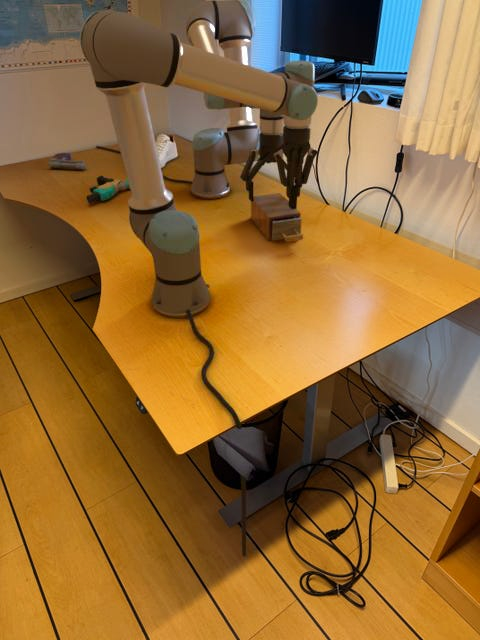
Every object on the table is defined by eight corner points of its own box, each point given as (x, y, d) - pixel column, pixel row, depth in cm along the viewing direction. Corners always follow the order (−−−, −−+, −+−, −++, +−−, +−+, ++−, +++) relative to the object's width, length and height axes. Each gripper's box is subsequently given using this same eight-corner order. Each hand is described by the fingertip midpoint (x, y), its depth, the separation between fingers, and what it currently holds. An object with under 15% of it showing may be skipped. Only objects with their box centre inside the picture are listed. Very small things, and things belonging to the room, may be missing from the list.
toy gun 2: (64, 190, 179) (94, 197, 174) (109, 170, 198) (138, 176, 192) (66, 201, 182) (96, 209, 176) (111, 181, 200) (139, 187, 195)
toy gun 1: (97, 161, 222) (82, 172, 210) (61, 159, 225) (44, 169, 213) (96, 153, 220) (81, 163, 208) (59, 151, 223) (42, 161, 211)
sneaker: (133, 173, 208) (129, 144, 201) (161, 153, 230) (158, 127, 223) (155, 175, 205) (151, 146, 198) (180, 155, 227) (178, 129, 220)
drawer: (308, 244, 149) (309, 227, 146) (280, 249, 147) (280, 231, 144) (281, 216, 167) (282, 199, 164) (255, 219, 165) (255, 203, 161)
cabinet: (299, 235, 157) (300, 213, 152) (268, 240, 154) (269, 217, 150) (279, 214, 171) (279, 192, 166) (250, 218, 168) (250, 196, 164)
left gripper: (313, 120, 134) (307, 200, 148) (269, 124, 131) (267, 205, 145) (324, 126, 128) (317, 209, 142) (279, 131, 125) (276, 215, 139)
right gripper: (303, 125, 155) (299, 189, 167) (229, 133, 149) (231, 198, 161) (313, 131, 149) (308, 196, 161) (236, 139, 143) (238, 206, 155)
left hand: (292, 207), depth 144 cm, fingers closed
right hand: (270, 197), depth 161 cm, fingers open, 13 cm apart
